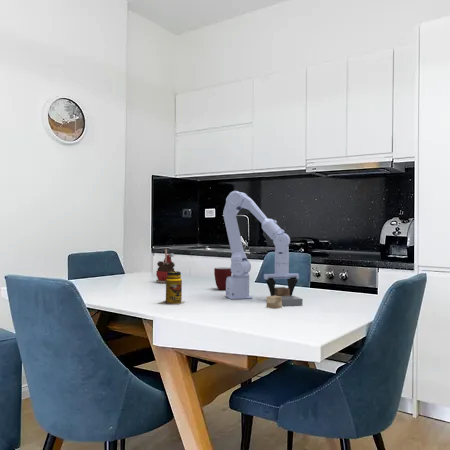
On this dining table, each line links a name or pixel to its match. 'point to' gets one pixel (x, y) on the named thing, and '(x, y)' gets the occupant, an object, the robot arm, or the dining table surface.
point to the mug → (222, 277)
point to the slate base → (291, 301)
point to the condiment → (173, 288)
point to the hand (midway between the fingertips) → (281, 296)
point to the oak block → (274, 302)
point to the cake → (164, 267)
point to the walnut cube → (282, 291)
